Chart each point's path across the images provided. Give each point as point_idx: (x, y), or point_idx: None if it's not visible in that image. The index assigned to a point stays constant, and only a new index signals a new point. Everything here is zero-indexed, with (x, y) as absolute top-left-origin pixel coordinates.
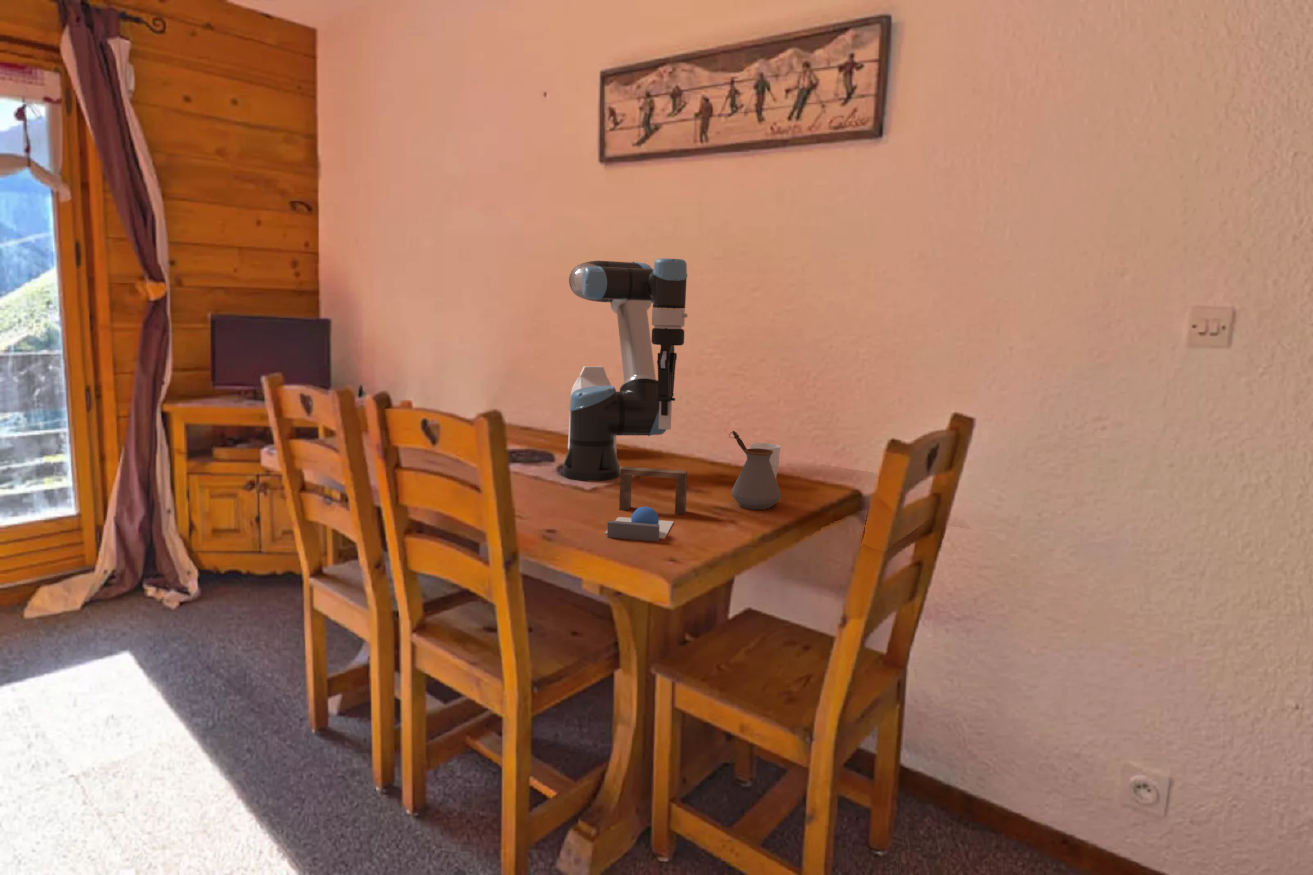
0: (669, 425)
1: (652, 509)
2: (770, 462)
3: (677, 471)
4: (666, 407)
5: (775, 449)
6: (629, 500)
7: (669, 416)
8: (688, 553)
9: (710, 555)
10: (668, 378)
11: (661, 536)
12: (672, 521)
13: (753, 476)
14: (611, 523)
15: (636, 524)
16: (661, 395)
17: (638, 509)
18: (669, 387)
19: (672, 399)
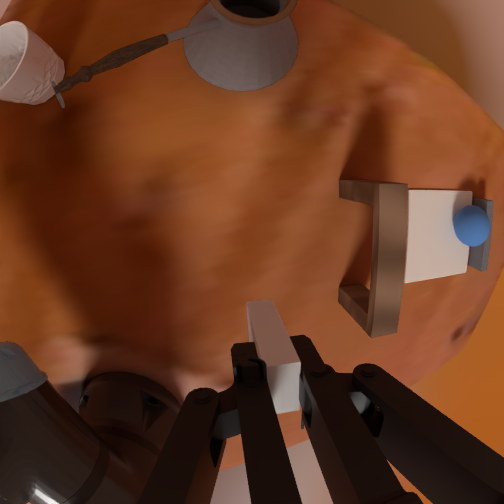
0: (275, 307)
1: (484, 218)
2: (42, 41)
3: (392, 206)
4: (318, 358)
5: (23, 24)
6: (357, 290)
7: (282, 326)
8: (498, 155)
9: (497, 129)
10: (467, 433)
11: (468, 196)
12: (410, 191)
13: (289, 27)
14: (487, 264)
15: (490, 231)
16: (376, 406)
17: (486, 238)
18: (359, 419)
19: (264, 370)
